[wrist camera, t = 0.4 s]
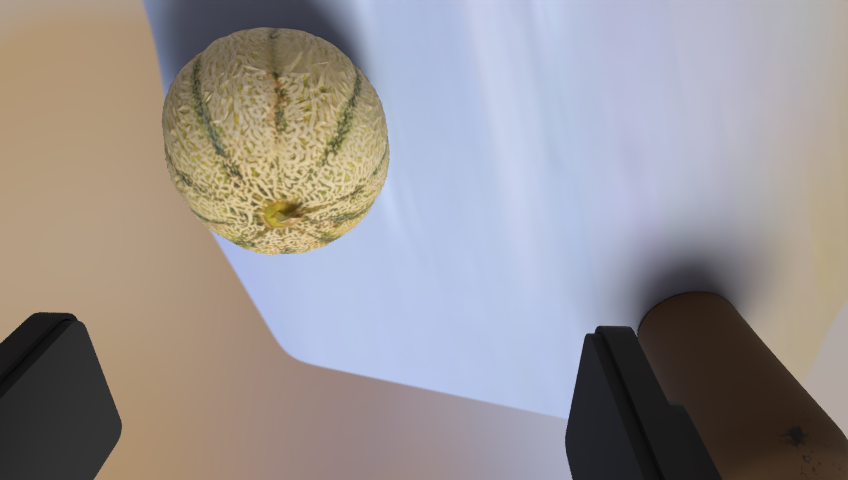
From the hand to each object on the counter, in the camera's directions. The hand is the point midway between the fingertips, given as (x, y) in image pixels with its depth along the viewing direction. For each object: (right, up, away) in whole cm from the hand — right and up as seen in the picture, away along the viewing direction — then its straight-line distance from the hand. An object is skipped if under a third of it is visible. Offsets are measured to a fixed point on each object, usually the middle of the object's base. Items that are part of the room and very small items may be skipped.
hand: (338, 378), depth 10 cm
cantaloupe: (-8, +13, +33) cm, 36 cm away
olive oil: (+27, -6, +43) cm, 51 cm away
